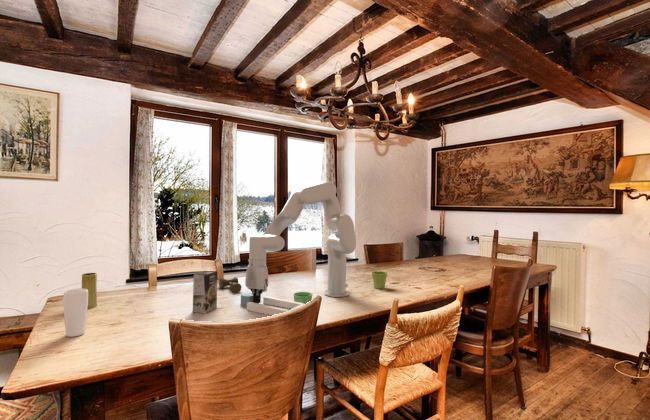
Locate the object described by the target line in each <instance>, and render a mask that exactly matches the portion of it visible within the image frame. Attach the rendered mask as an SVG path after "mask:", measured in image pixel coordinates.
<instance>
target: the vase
mask: <svg viewBox="0 0 650 420" xmlns="http://www.w3.org/2000/svg"><path fill="white" fill-rule="evenodd" d="M97 279H98V275H97V273H96V272H86V273H82V274H81V288H83V289H88V307H87V309H93V308H96V307H97V306H98V295H97V292H98V291H97V284H98V283H97V281H98V280H97Z"/></svg>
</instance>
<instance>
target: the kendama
mask: <svg viewBox="0 0 650 420" xmlns="http://www.w3.org/2000/svg"><path fill="white" fill-rule="evenodd" d="M227 286H229V289H230V290H231V291H232V292H233V293H234V294H235V293H241V290H242V285H241V283H239V279H238V277H237V276H234V277H233V278H229V279H226V278H223V277H219V280H218V287H219V288H220V289H224V288H225V287H227Z"/></svg>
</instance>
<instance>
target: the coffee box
mask: <svg viewBox="0 0 650 420" xmlns="http://www.w3.org/2000/svg"><path fill="white" fill-rule="evenodd" d="M192 282H193V284H192V288H193V289H192V313H199V314H207V313H208V312H211V311H212V310H215V309H216V308H218V307H217V306H218V304H217V303H218V271H217V270H204V271H200V272H198V273H194V274H193V281H192Z"/></svg>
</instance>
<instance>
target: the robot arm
mask: <svg viewBox="0 0 650 420" xmlns="http://www.w3.org/2000/svg"><path fill="white" fill-rule="evenodd" d="M337 190H338V189H337V187H336V185H335V183H334V182H332V181H318V182H315V183H312V184H311V185H309V186H308V185H307V186H301V187H300V186H299V187H297V188H295V189H294V190H293V191H292V192H291V194H290V196H289V198H288V199H287V201H286V202H285V205H284V206H283V208H282V209H281V211H280V213H278V214H277V215H276V216H275V218H274V219H273V220H272V221H271V222H270V223H269V224H268V226H267V227H266V229H265V230H264V231H263V233H262V235H261V234H260V235H259V234H255V235H254V234H253V235H251V236H249V243H248V244H249V246H248V247H249V250H248V251H249V252H248V256H249V258H248V259H247V262H248V265H247V267H246V271H245V283H244V284H245V287H246V288H247V290H250V291H251V293H252V294H253V303H258V304H261V302H262V301H261V298H262V294H263V293H265V292H267V291H268V287H269V270H268V267H267V252H280V251H281V250H283V248H284V247H285V245H286V244H285V243H286V242H285V239H284V237H282V236H281V234H282V232H283V231H284V230H285V229H286V228H287V227H290V226H291V225H292V224H294V223H296V222H297V221H298V219H299V217H300V215H301V213H302V211H304V208H305V206H306V205H314V204H317V203H320V204H321V205H322V208H323V213H324V219H325V220H324V221H325V225H326V229H327V230H328V231H331V232H333V233H332V234H330V235H329V236H328V237H327V240H326V250H327V257H328V258H327V289H326V290H324V295H325V296H327V297H332V298H343V297H347V296H349V293H350V292H349V291H348V290H346V289H347V288H348V287H349V285H348V283H347V257H346V255H350V254H352V253H354V252H355V251H356V248H357V237H356V231H355V226H354V221H353V219H352V217H351V216H350V215H348V214H346V213H342V210H341V207H340V206H341V205H340V202H339V199H338V197H337V196H336V194H337ZM335 232H336V233H335Z"/></svg>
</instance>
